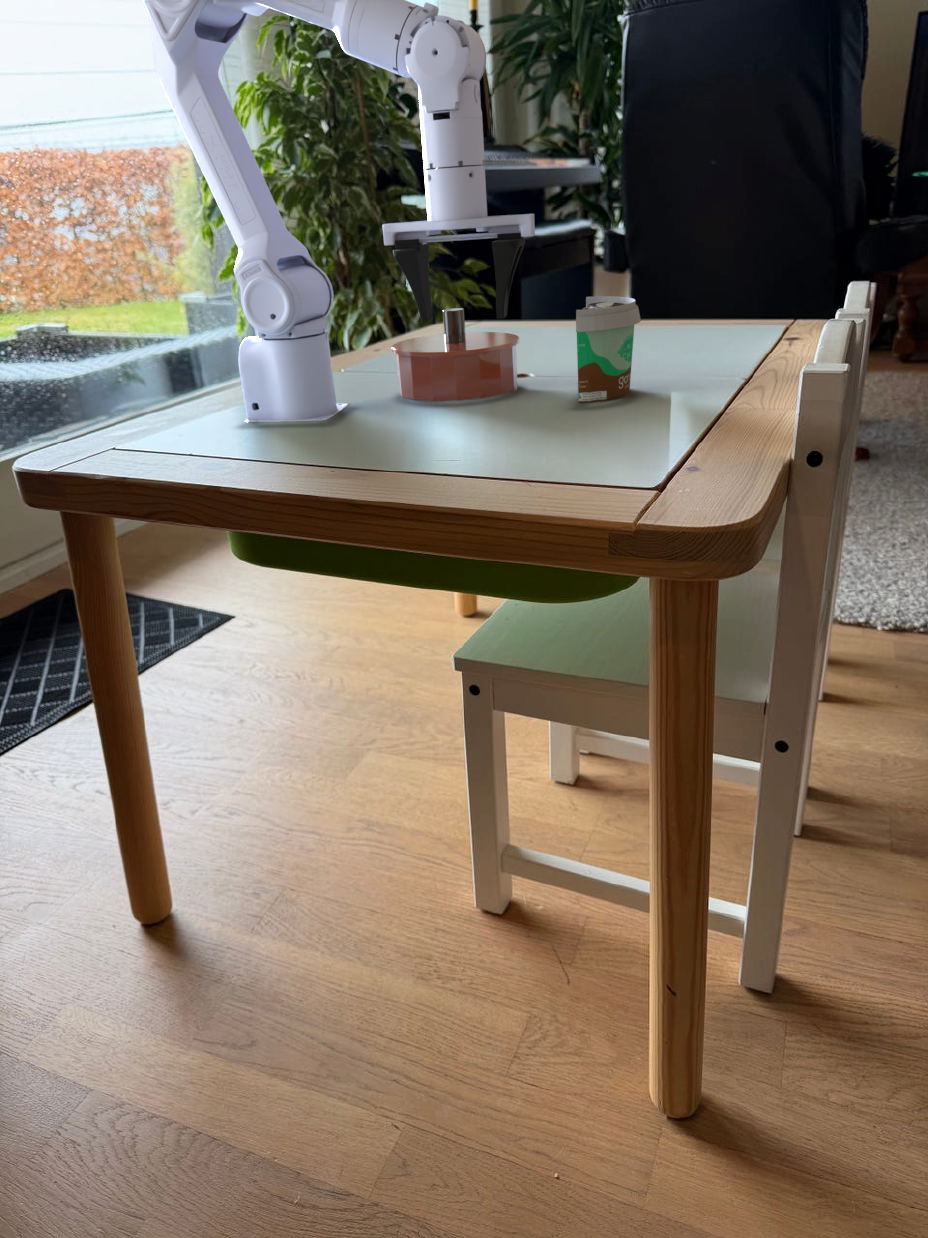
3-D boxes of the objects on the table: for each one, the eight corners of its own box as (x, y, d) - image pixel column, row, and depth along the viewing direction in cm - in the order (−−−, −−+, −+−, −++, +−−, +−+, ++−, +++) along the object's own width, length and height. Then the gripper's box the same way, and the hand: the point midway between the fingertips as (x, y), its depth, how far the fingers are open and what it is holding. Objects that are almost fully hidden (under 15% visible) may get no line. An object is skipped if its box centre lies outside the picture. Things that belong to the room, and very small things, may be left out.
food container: (637, 410, 96) (638, 307, 92) (577, 411, 98) (575, 310, 94) (642, 385, 107) (643, 293, 103) (587, 387, 109) (586, 296, 105)
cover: (382, 365, 103) (378, 321, 101) (403, 344, 116) (399, 305, 114) (516, 358, 101) (514, 313, 99) (522, 338, 115) (520, 298, 113)
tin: (386, 407, 106) (382, 358, 104) (416, 383, 118) (412, 339, 116) (506, 404, 103) (504, 353, 101) (524, 380, 115) (522, 334, 113)
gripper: (536, 162, 91) (541, 310, 96) (391, 173, 94) (404, 316, 99) (526, 161, 84) (532, 319, 90) (370, 173, 88) (385, 326, 93)
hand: (464, 318), depth 94 cm, fingers open, 7 cm apart
